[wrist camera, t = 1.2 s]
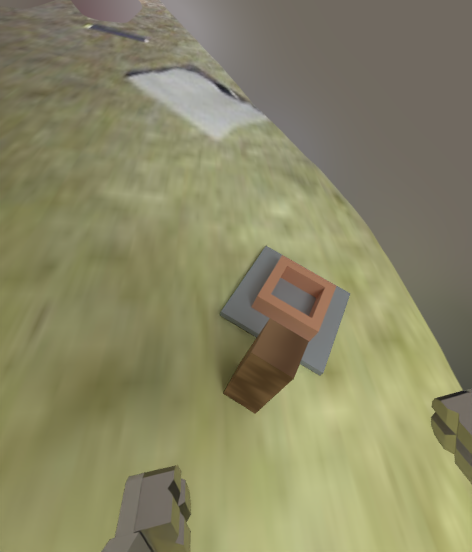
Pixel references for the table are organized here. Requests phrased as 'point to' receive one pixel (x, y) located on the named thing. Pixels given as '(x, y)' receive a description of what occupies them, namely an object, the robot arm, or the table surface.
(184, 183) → the table surface
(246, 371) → the wooden post
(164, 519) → the robot arm
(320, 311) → the housing
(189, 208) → the table surface
